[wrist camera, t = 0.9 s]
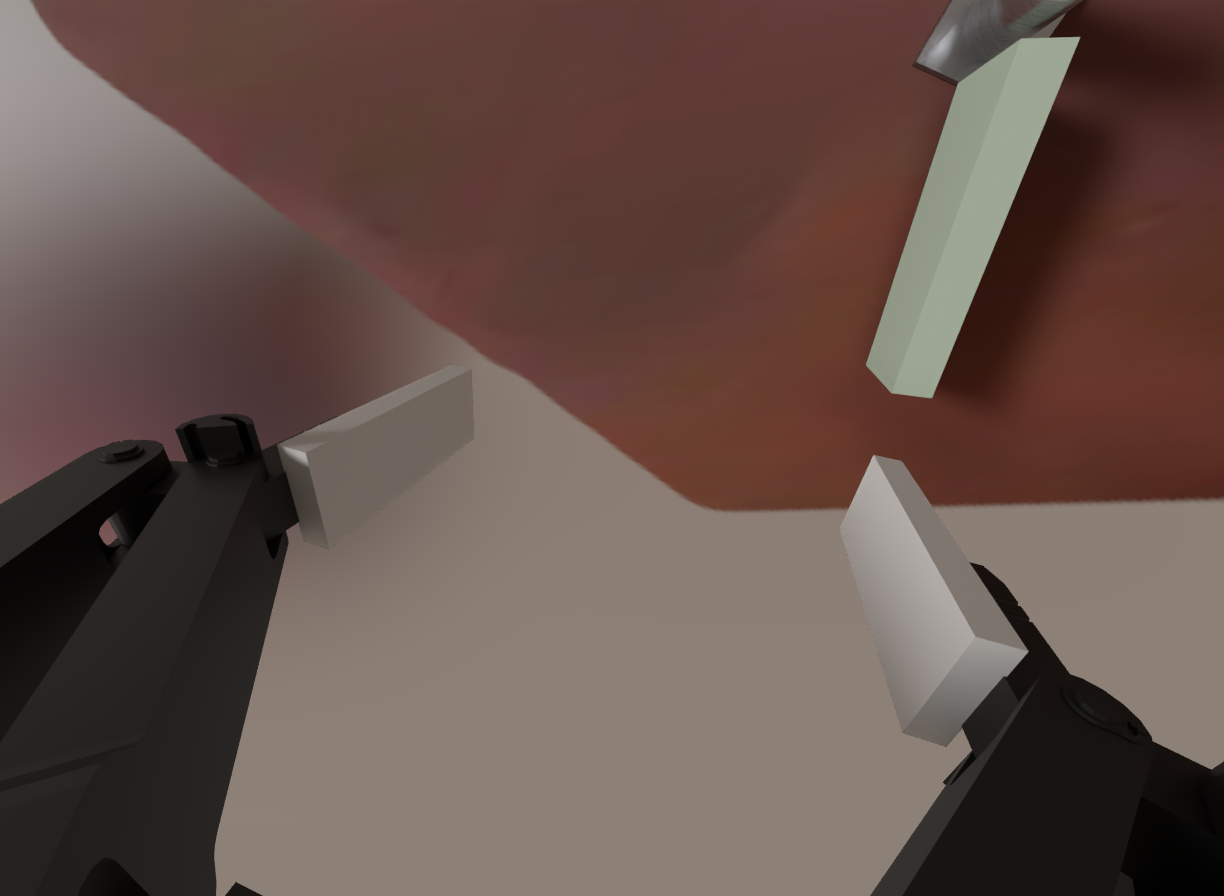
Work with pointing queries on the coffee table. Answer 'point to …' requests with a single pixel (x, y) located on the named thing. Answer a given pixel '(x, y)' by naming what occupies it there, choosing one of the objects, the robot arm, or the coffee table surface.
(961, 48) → the hinge post
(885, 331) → the gate
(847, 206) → the coffee table surface
